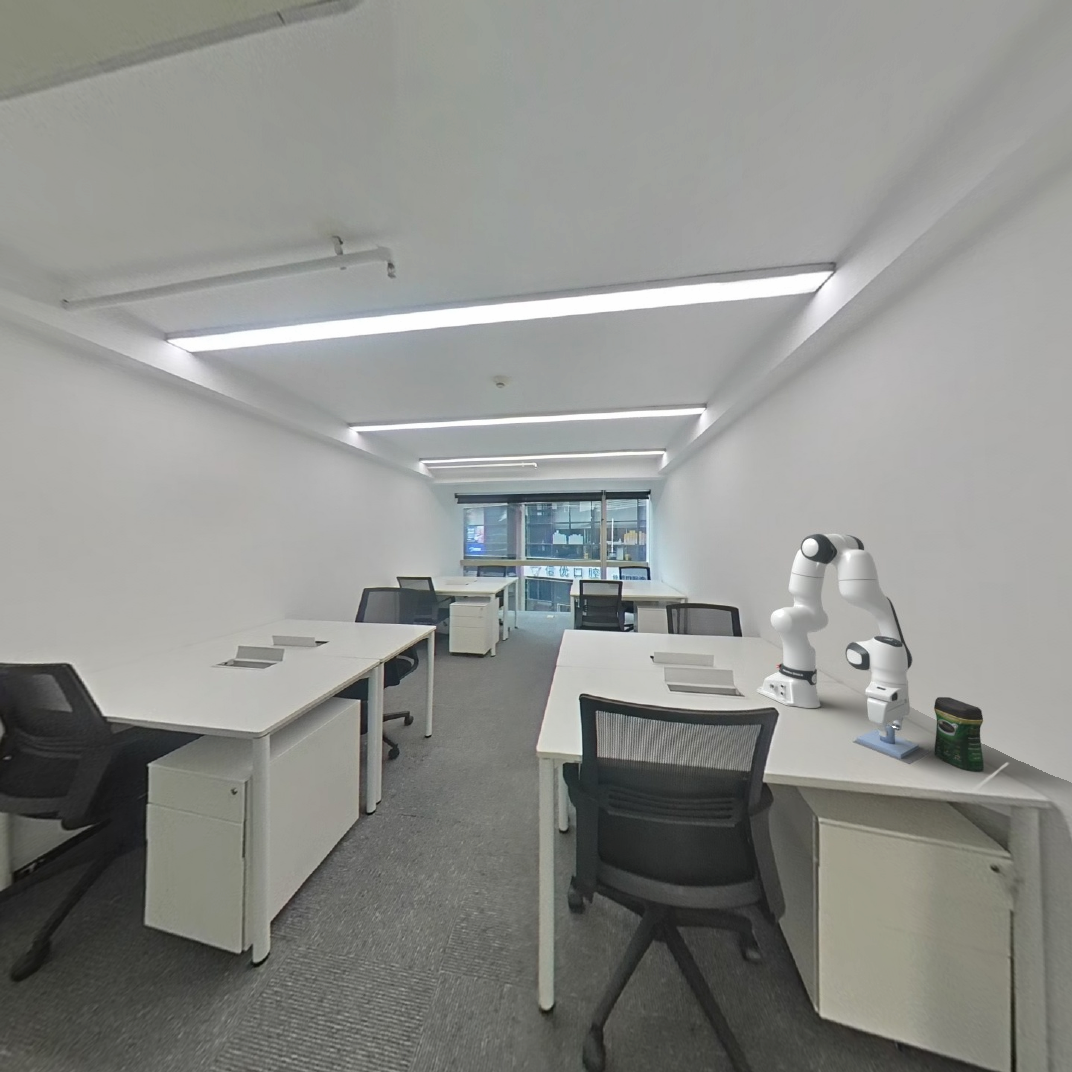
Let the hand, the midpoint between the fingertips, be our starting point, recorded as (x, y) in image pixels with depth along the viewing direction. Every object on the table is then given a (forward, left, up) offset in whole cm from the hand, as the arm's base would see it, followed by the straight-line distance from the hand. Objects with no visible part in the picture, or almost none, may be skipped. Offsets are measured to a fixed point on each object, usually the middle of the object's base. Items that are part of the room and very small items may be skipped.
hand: (890, 732), depth 123 cm
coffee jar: (+13, +7, -5) cm, 16 cm away
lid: (-1, 0, -4) cm, 4 cm away
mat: (0, 0, -5) cm, 5 cm away
